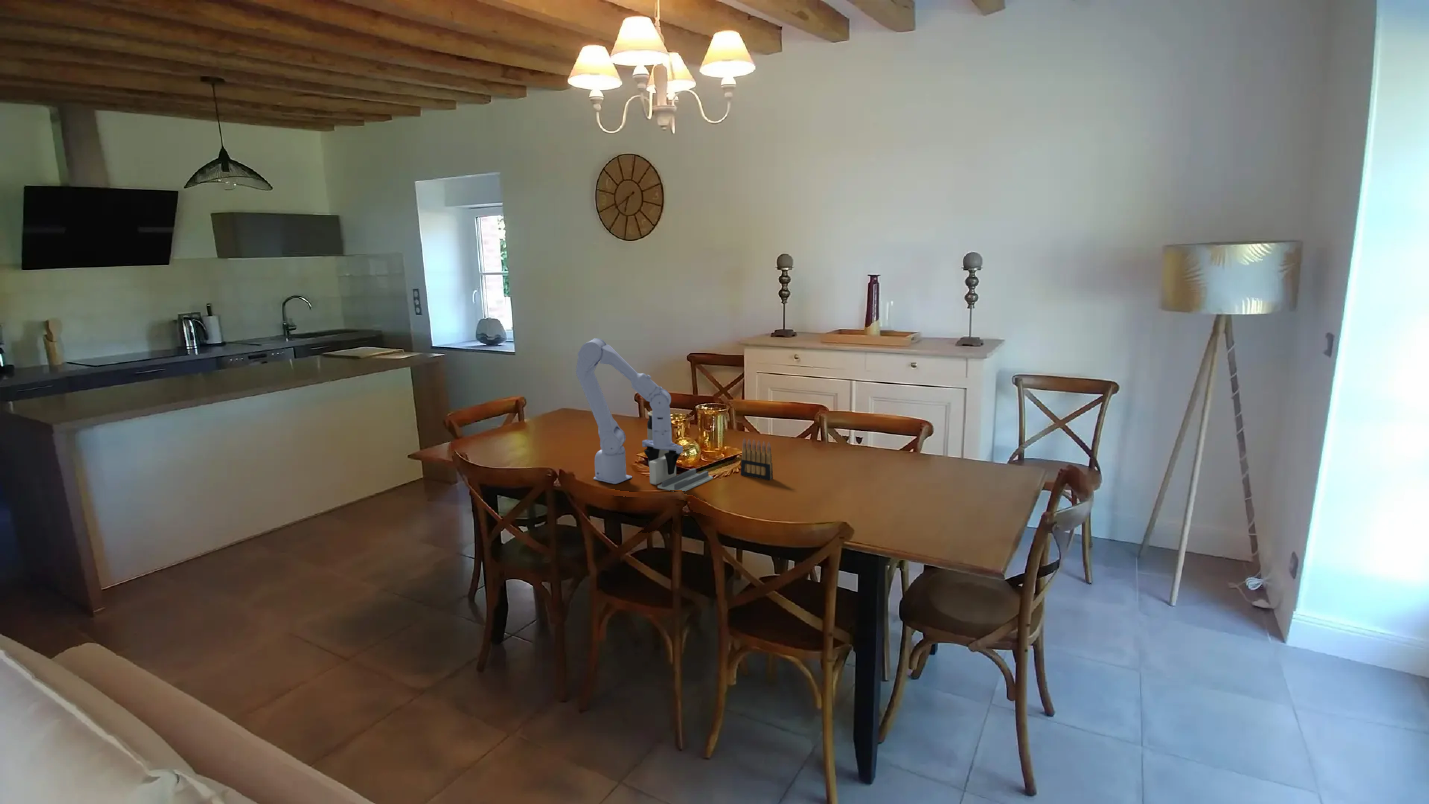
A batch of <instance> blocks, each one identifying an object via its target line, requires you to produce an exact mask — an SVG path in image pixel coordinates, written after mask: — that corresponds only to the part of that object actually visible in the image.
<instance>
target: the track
mask: <svg viewBox="0 0 1429 804" xmlns="http://www.w3.org/2000/svg"><path fill="white" fill-rule="evenodd" d="M713 479H714V477H713V476H711V475H709V470H704V471H702V472H699V473H697V468H691V469H688V470H687V471H684V472H682V473H681V472H680V473H679V474H676V476H674V477H672V478H670V479H667V480H665V481H663V482H661V483H660V484H657V489H662V490H664V491H665V490H666V491H670V490H682V491H685V492H686V491H689V490H691V489H693V488H695V487H698V486H700V485H703V484H705V483H706V482H709V481H710V480H713Z"/></svg>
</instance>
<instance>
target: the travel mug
mask: <svg viewBox="0 0 1429 804" xmlns="http://www.w3.org/2000/svg"><path fill="white" fill-rule="evenodd" d="M671 414H672V413H671V412H670V415H671ZM647 416H648V420H647V424H646V427H647V440H653V433H652V410H650V411H648V412H647ZM672 424H673V423H672V421H671V441H672V442H673V430H672V429H673V428H672V427H673V426H672ZM668 452H669V451H666V450H661V449H660V451H659V457H658V458H660V457H663V456H665V455H664V454H665V453H668Z"/></svg>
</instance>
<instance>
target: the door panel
mask: <svg viewBox="0 0 1429 804" xmlns="http://www.w3.org/2000/svg"><path fill="white" fill-rule="evenodd" d="M648 466H649V484H652V485H655V486H657V485H660V484H662V482H663V481H665V480H667V479H670V478H672V477H674V476H677V465H676V466H675V470H674V473H673V474H671V475H668V469H667V461H666V457H665V456H663V457H660V458H658V459H655V460H652V461H650V462H649V461H648Z"/></svg>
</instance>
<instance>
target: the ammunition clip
mask: <svg viewBox="0 0 1429 804" xmlns="http://www.w3.org/2000/svg"><path fill="white" fill-rule="evenodd" d="M756 443H757V444H756ZM761 445H762V446H761ZM741 449H742V450H741V461H740V476H743V475H744V477H749V478H750V477H751V478H753V479H754V478H755V479H760V480H765V481H772V480H773V478H774V474H773V471H774V470H773V462H772V447H771V443H770V441H768V442H767V445H766V442H765V440H763V442H762V444H761V441H760V440H757V442H756V440H755V439H752V443H751V439H750V438H748V440H746V438H745V437H743V440H742V447H741Z"/></svg>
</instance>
